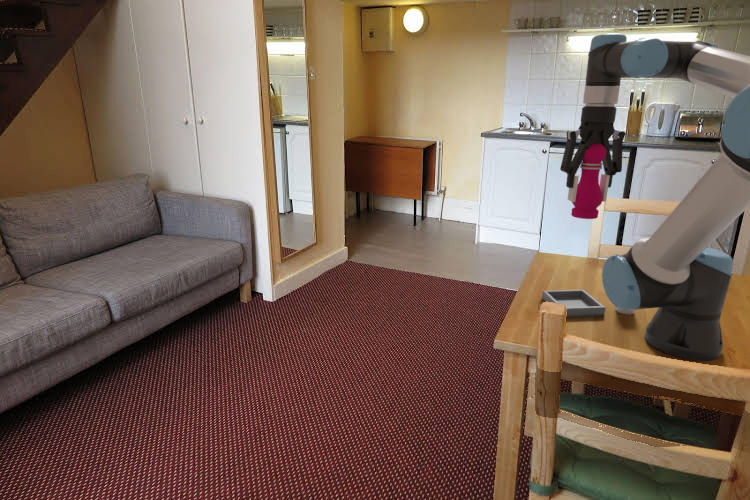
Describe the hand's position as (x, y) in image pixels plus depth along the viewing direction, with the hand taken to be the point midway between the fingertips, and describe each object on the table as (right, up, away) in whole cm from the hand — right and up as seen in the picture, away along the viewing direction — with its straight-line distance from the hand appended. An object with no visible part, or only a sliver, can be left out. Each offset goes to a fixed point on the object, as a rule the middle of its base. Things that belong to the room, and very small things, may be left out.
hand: (586, 200), depth 125 cm
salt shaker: (+13, -28, +6) cm, 32 cm away
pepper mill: (0, -4, +1) cm, 4 cm away
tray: (-1, -28, +8) cm, 29 cm away
